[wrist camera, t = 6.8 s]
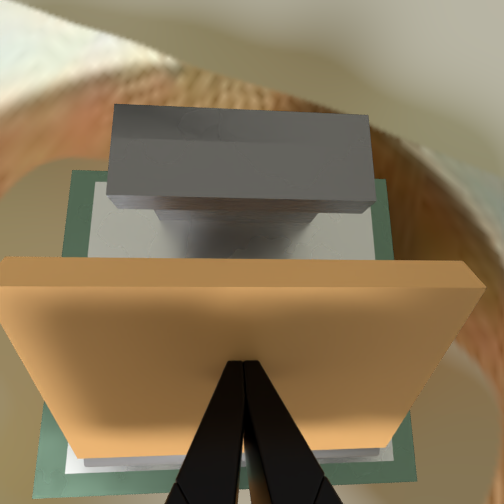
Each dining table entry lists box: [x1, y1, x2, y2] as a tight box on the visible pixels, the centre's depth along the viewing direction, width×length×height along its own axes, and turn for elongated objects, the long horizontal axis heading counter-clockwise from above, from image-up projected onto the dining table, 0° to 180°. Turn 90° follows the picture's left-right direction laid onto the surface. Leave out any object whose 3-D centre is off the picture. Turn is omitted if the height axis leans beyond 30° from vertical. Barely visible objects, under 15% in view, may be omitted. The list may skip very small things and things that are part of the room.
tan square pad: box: [0, 257, 487, 467], centre depth 10 cm, size 1×11×9 cm
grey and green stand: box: [32, 104, 417, 499], centre depth 13 cm, size 16×18×11 cm
